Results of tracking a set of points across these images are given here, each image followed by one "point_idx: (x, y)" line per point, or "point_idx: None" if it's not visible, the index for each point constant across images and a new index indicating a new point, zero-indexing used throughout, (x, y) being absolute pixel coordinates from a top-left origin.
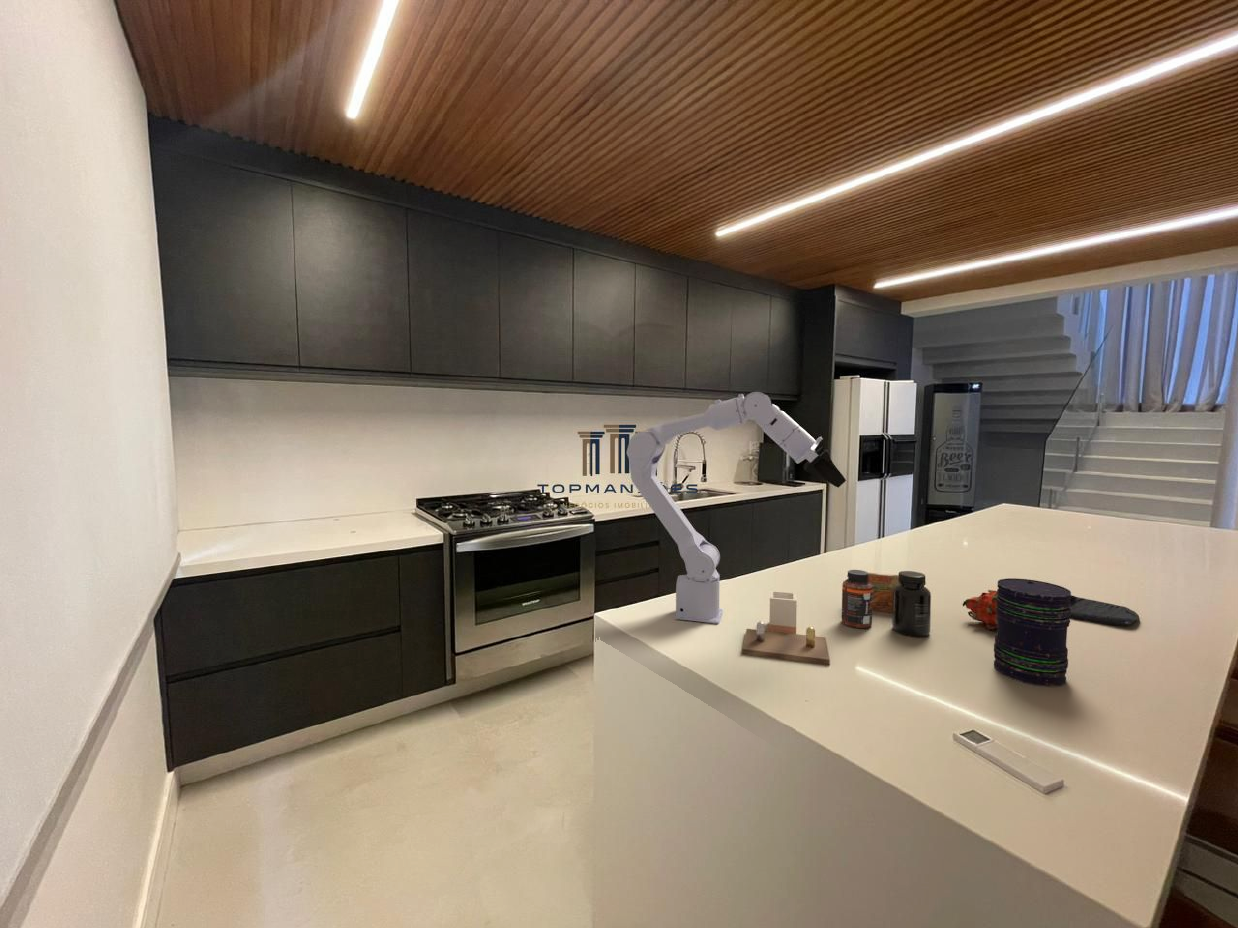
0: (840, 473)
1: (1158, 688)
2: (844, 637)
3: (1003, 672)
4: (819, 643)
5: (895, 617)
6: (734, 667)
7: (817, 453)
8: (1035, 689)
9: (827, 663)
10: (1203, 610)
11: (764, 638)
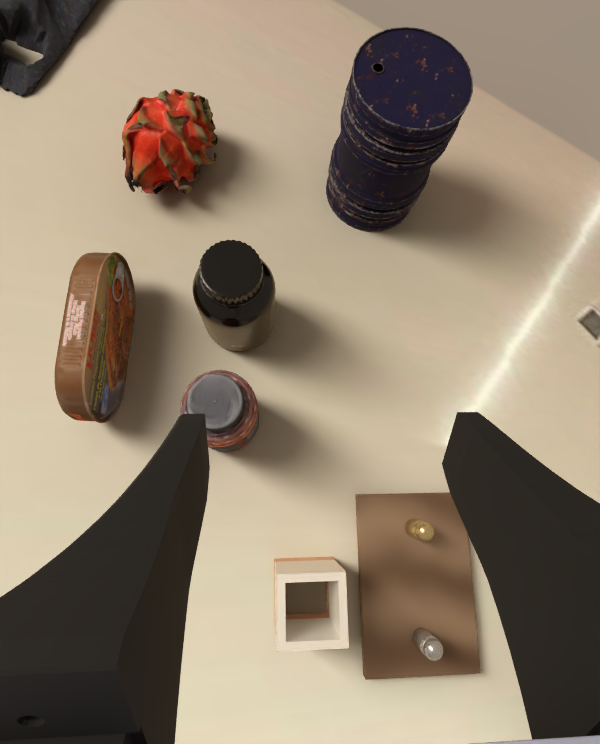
0: (518, 446)
1: None
2: (315, 454)
3: (390, 226)
4: (394, 508)
5: (251, 341)
6: None
7: (139, 704)
8: (426, 205)
9: None
10: None
11: (427, 630)
